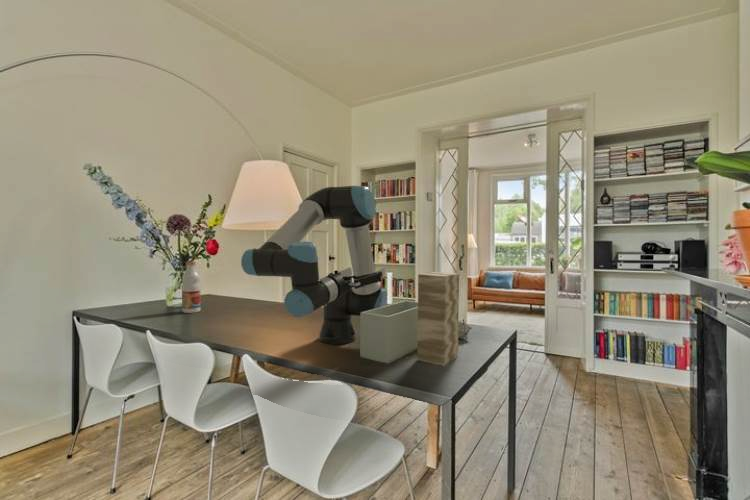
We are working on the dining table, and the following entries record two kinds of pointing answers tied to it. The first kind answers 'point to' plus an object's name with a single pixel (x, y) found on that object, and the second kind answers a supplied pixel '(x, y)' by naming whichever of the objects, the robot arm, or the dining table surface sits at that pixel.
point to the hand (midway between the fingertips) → (366, 271)
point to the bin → (389, 331)
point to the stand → (438, 317)
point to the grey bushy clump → (463, 329)
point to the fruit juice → (191, 289)
